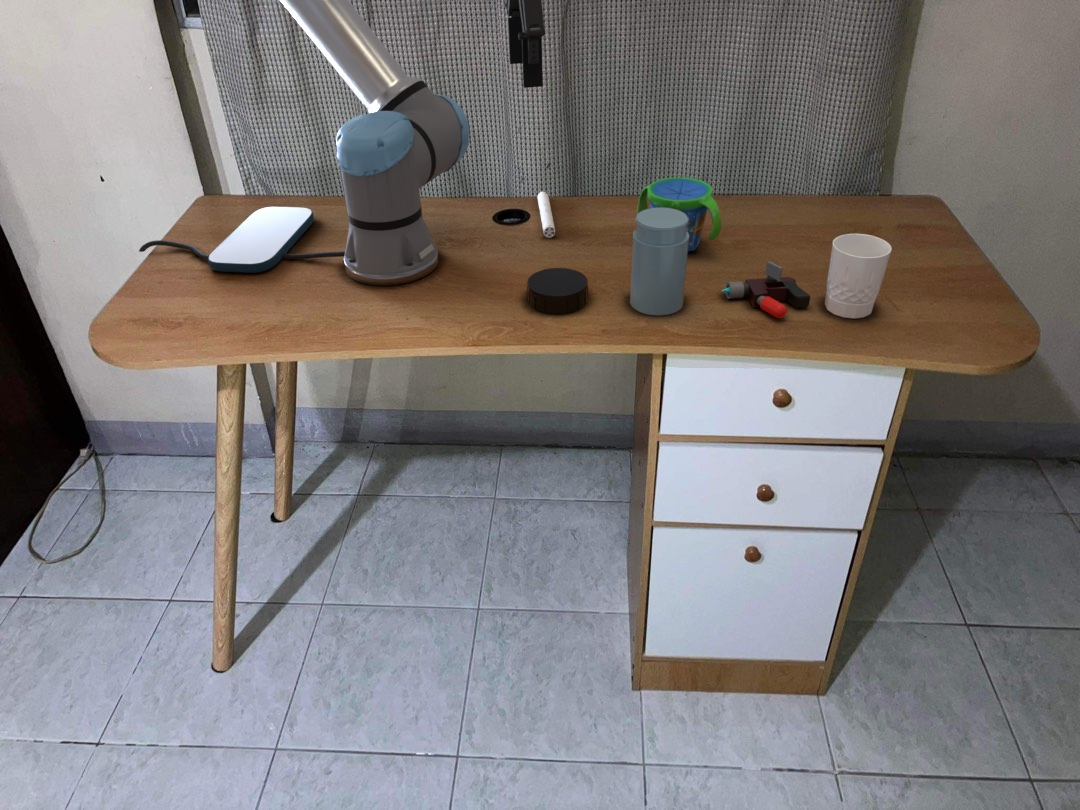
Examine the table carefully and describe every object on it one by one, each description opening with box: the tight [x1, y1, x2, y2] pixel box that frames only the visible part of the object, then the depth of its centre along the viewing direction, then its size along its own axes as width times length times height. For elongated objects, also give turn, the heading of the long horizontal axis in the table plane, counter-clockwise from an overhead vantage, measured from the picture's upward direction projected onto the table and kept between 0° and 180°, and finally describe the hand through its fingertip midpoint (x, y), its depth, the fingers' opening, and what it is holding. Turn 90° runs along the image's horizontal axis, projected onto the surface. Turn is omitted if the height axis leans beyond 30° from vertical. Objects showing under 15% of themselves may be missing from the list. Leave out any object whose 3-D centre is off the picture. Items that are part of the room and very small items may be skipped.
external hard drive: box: [207, 206, 315, 274], centre depth 145 cm, size 24×12×2 cm, turn 172°
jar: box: [629, 207, 689, 316], centre depth 121 cm, size 8×8×14 cm
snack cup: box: [636, 176, 722, 253], centre depth 138 cm, size 16×10×10 cm
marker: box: [537, 191, 556, 238], centre depth 151 cm, size 18×2×2 cm, turn 4°
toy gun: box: [720, 260, 811, 319], centre depth 122 cm, size 10×12×5 cm
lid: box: [526, 267, 589, 315], centre depth 126 cm, size 9×9×3 cm
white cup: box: [824, 233, 893, 320], centre depth 119 cm, size 8×8×10 cm
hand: (525, 74), depth 124 cm, fingers open, 13 cm apart
